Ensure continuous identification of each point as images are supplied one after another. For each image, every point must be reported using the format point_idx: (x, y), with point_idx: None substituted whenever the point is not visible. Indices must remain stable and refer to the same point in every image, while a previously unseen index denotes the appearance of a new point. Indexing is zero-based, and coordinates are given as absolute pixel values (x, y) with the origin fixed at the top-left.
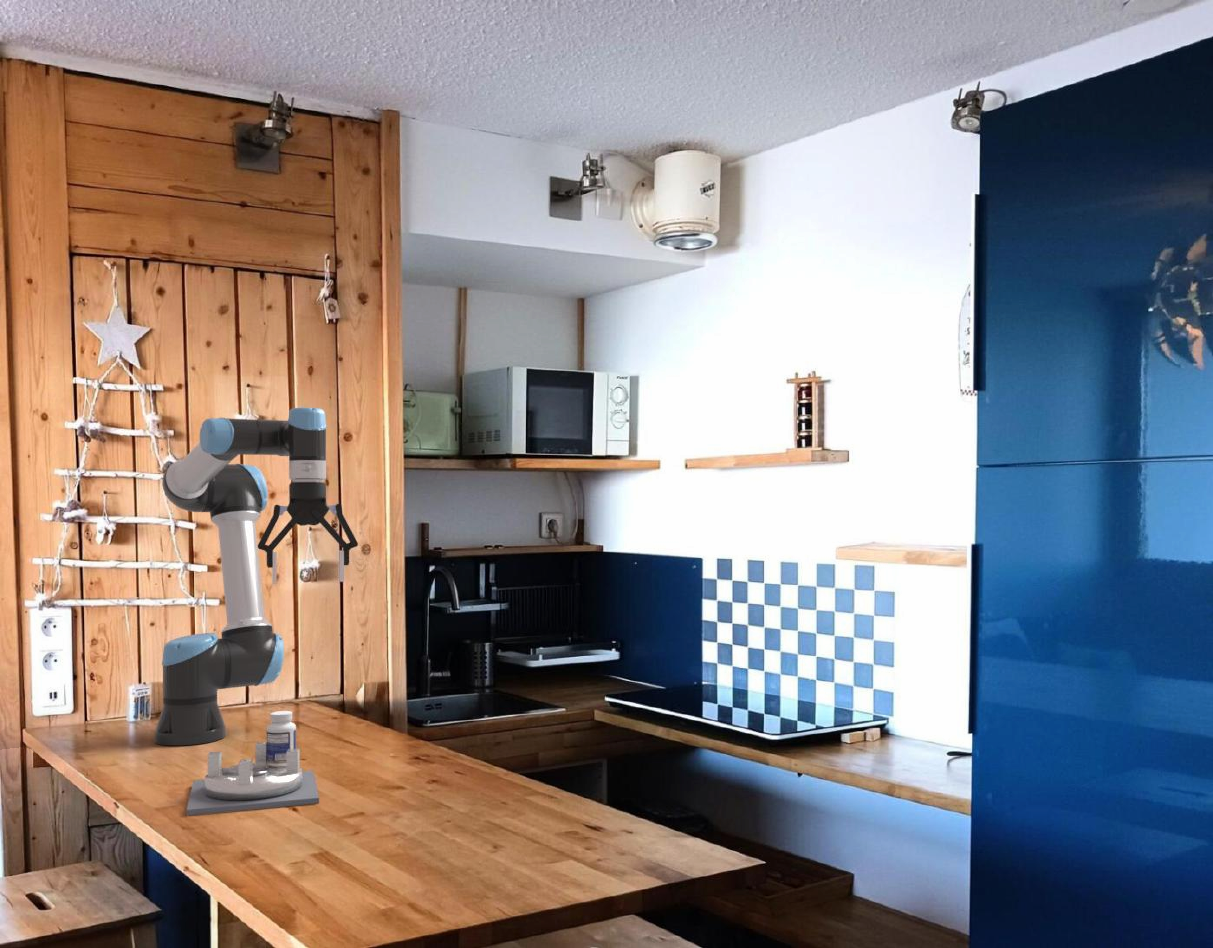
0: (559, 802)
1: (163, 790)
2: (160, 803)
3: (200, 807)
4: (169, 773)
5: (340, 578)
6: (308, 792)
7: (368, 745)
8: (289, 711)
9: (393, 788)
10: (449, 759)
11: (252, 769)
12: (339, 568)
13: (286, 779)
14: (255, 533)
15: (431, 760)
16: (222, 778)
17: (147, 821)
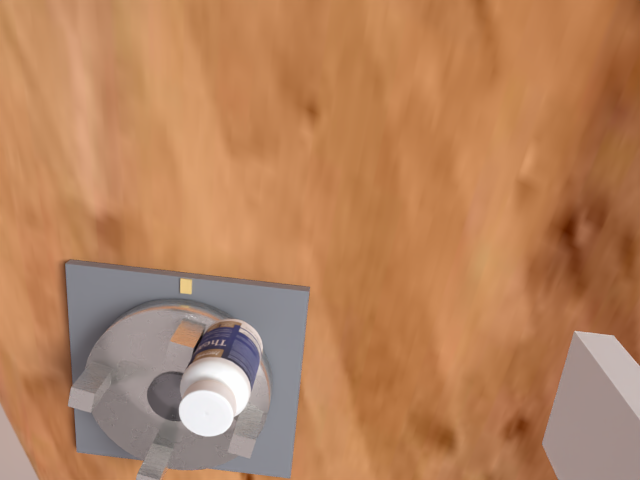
0: None
1: (16, 264)
2: (26, 354)
3: (97, 448)
4: (2, 114)
5: (553, 467)
6: (277, 441)
7: (507, 20)
8: (227, 406)
9: (433, 440)
10: (627, 278)
11: (165, 467)
12: (631, 435)
13: (233, 458)
14: None
15: (587, 269)
16: (117, 404)
17: (24, 446)
